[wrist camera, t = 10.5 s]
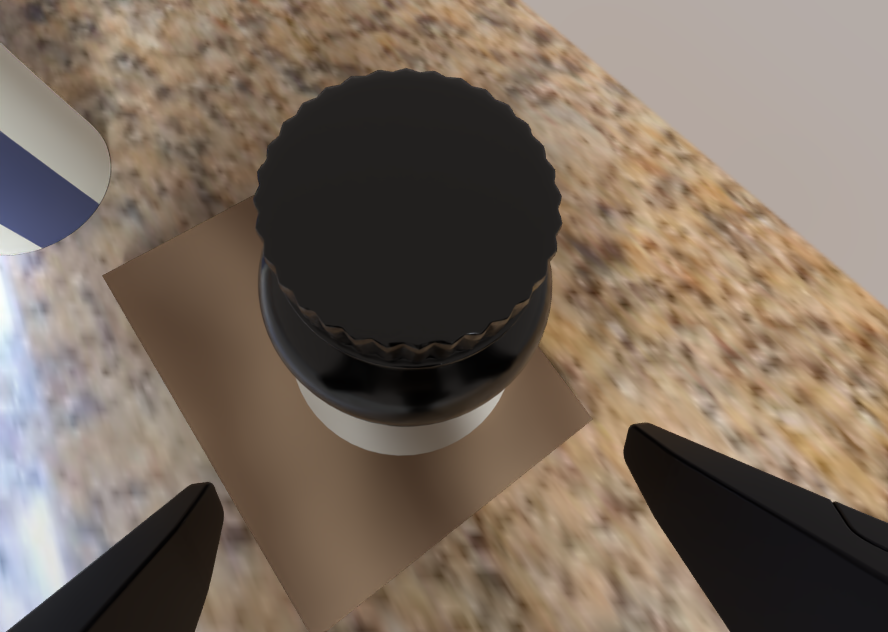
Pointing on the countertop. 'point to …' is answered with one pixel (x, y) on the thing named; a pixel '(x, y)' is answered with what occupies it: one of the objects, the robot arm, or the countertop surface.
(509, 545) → the countertop surface
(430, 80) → the supplement bottle
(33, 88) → the water bottle
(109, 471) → the countertop surface
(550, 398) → the walnut board
